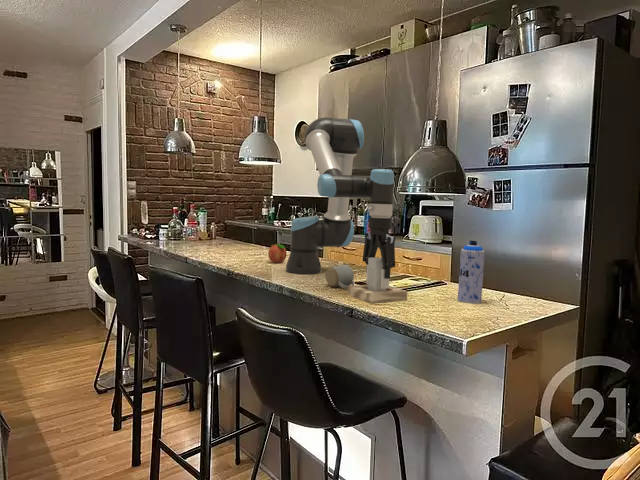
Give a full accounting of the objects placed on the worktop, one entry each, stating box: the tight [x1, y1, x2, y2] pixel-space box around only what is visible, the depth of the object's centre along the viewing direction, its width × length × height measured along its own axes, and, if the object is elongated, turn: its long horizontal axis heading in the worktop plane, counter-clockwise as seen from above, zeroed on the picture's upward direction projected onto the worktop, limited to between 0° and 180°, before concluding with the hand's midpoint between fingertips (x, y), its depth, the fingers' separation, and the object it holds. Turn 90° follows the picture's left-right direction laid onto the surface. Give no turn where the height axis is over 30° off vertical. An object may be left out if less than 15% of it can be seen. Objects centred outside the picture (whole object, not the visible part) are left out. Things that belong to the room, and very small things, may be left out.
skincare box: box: [367, 256, 387, 292], centre depth 157 cm, size 6×4×12 cm
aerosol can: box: [456, 240, 485, 305], centre depth 155 cm, size 8×8×20 cm
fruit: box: [268, 241, 287, 264], centre depth 224 cm, size 9×10×10 cm
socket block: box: [347, 284, 408, 304], centre depth 157 cm, size 14×14×3 cm
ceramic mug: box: [325, 264, 355, 290], centre depth 172 cm, size 11×8×8 cm
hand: (377, 285), depth 157 cm, fingers open, 7 cm apart
